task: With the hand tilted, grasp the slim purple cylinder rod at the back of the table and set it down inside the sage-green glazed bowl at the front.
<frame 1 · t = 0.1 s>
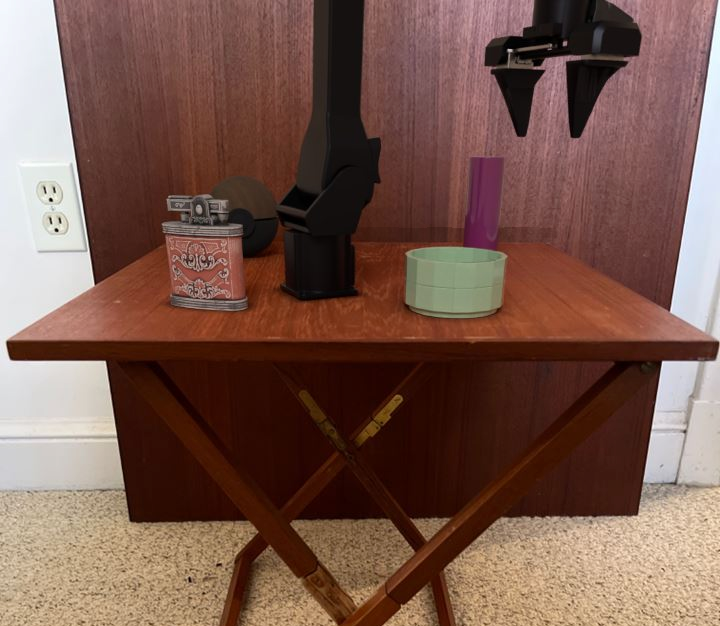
hand: (547, 137, 78), 15 cm above the table, tool pointing down, fingers open, 9 cm apart
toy: (245, 258, 94), on the table
bowl: (452, 307, 68), on the table
lighter: (209, 307, 68), on the table
purple cylinder rod: (479, 262, 91), on the table
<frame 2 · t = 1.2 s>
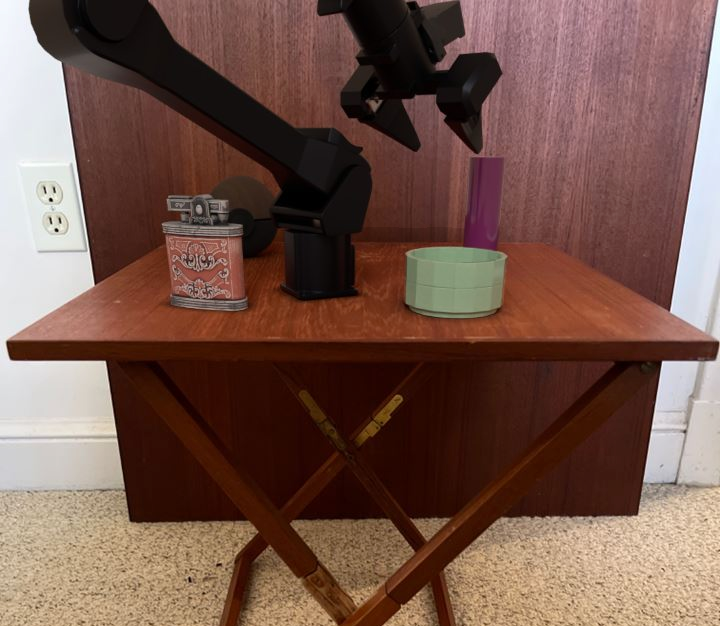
hand: (447, 149, 80), 13 cm above the table, tool tilted 45°, fingers open, 9 cm apart
nothing on the table moved.
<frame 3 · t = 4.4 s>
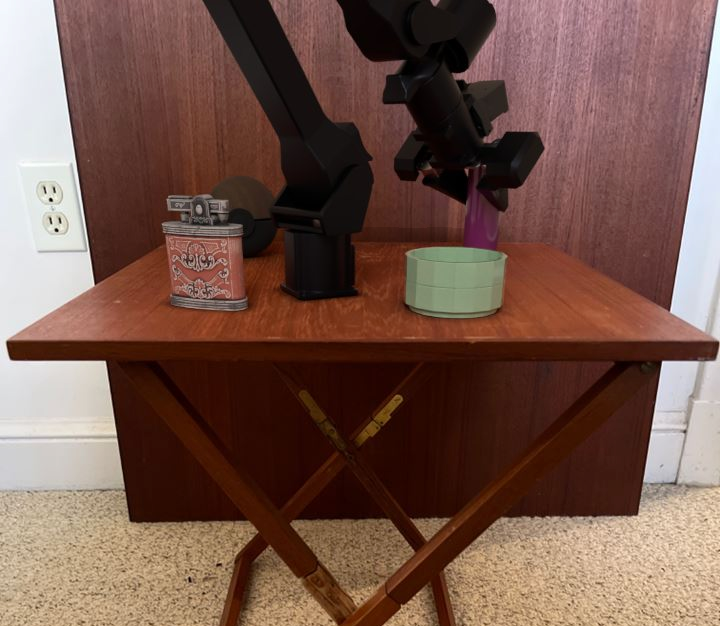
hand: (490, 207, 88), 7 cm above the table, tool tilted 45°, fingers closed on purple cylinder rod, 4 cm apart
purple cylinder rod: (479, 262, 91), on the table, touching gripper
everything else where it was.
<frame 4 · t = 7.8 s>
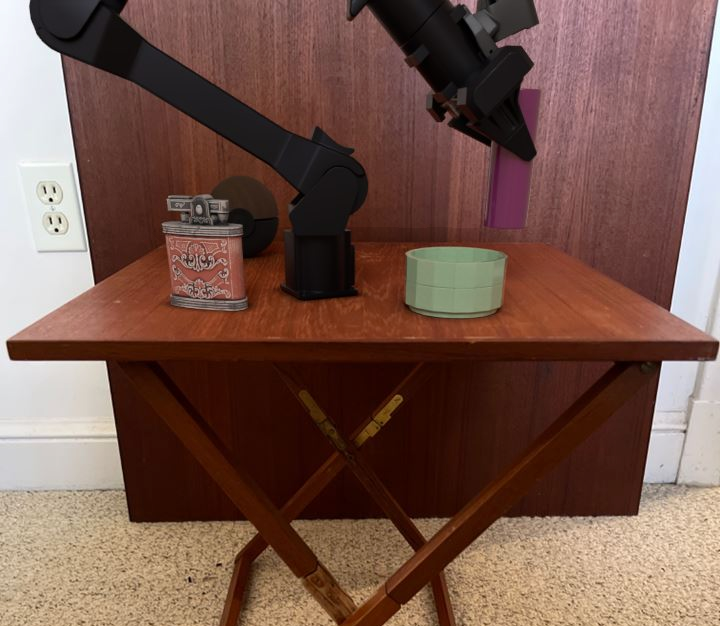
hand: (525, 157, 70), 13 cm above the table, tool tilted 45°, fingers closed on purple cylinder rod, 4 cm apart
purple cylinder rod: (505, 226, 73), point 6 cm above the table, touching gripper
everything else where it was.
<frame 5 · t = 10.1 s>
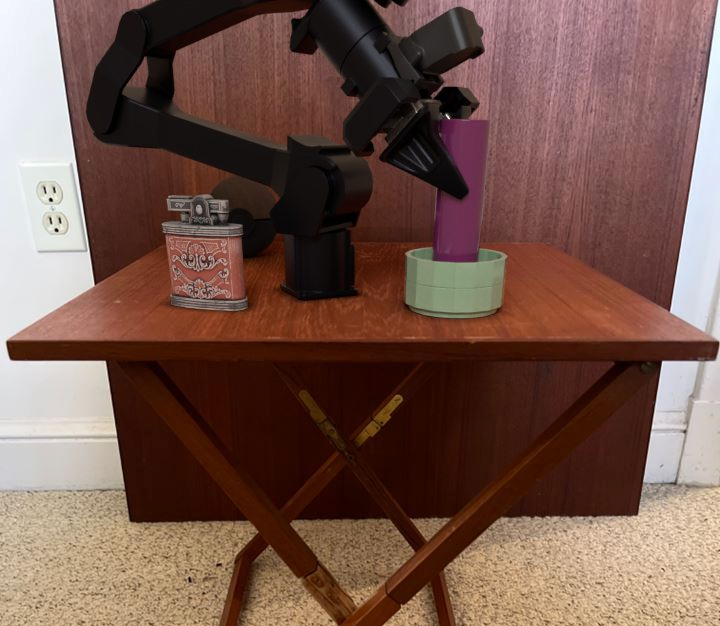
hand: (474, 193, 63), 10 cm above the table, tool tilted 45°, fingers closed on purple cylinder rod, 4 cm apart
purple cylinder rod: (454, 268, 66), point 4 cm above the table, touching gripper
everything else where it was.
when the fingers open (7 cm above the table, at t = 11.4 s): purple cylinder rod stays where it is, resting on bowl.
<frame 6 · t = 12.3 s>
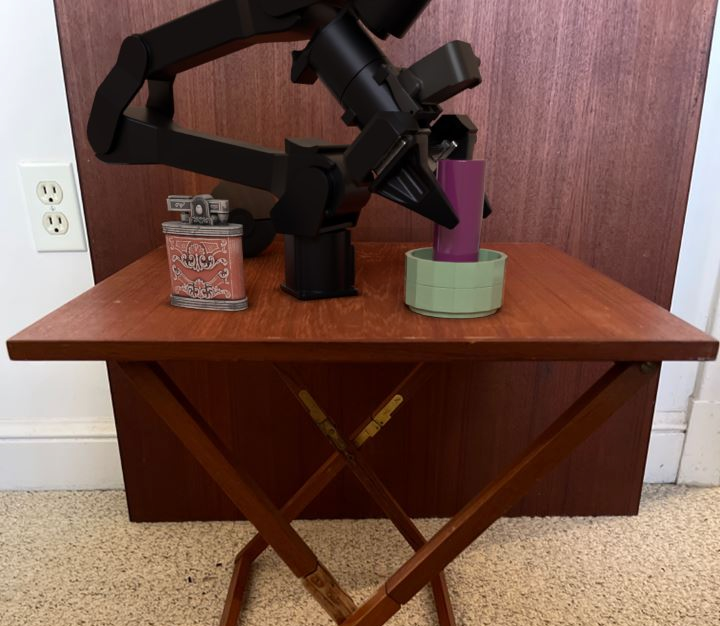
hand: (473, 220, 64), 8 cm above the table, tool tilted 45°, fingers open, 9 cm apart
purple cylinder rod: (452, 301, 68), point 1 cm above the table, touching bowl
everything else where it was.
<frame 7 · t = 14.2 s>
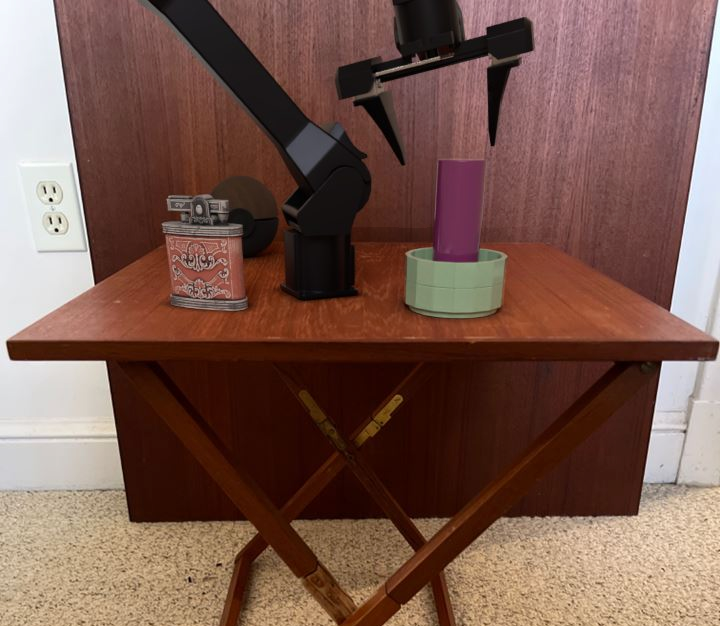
hand: (447, 155, 71), 13 cm above the table, tool pointing down, fingers open, 9 cm apart
nothing on the table moved.
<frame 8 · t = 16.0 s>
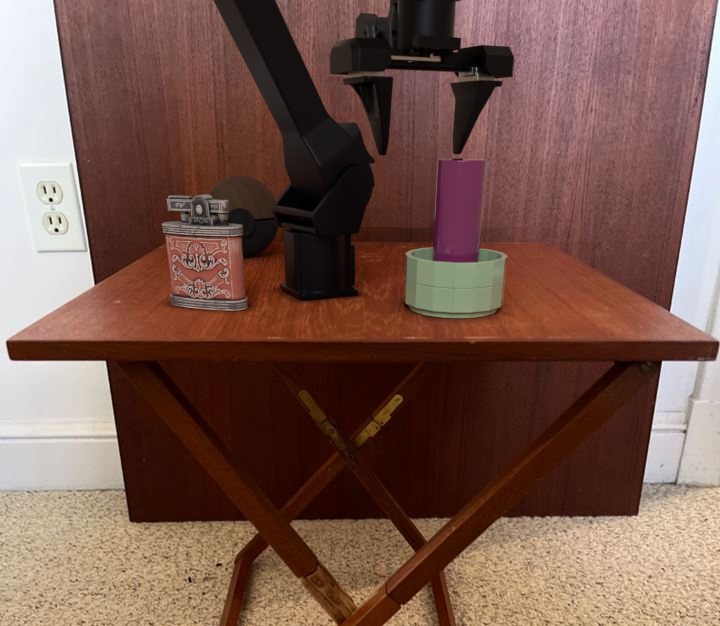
hand: (420, 154, 75), 13 cm above the table, tool pointing down, fingers open, 9 cm apart
nothing on the table moved.
at the end: purple cylinder rod 0.0 cm off-centre in the bowl, point 0.6 cm above the bowl's base; the gripper is holding nothing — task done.
